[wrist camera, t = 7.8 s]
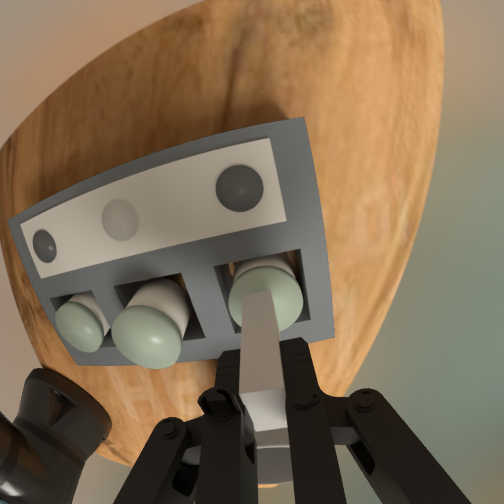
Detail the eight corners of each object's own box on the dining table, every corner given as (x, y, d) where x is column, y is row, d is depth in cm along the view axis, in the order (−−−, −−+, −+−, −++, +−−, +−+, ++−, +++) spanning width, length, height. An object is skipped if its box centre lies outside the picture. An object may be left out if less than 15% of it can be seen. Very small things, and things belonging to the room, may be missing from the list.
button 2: (93, 323, 21) (72, 352, 17) (73, 283, 20) (46, 309, 16) (128, 319, 21) (109, 351, 17) (108, 275, 19) (82, 304, 15)
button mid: (149, 330, 19) (130, 370, 15) (127, 281, 17) (100, 316, 13) (201, 323, 19) (190, 366, 15) (181, 270, 17) (162, 308, 13)
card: (43, 277, 16) (39, 279, 16) (22, 223, 14) (18, 225, 14) (286, 219, 15) (287, 221, 14) (268, 138, 13) (269, 137, 12)
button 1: (241, 302, 20) (238, 339, 16) (226, 250, 19) (219, 280, 15) (297, 291, 20) (306, 326, 16) (287, 237, 18) (297, 264, 14)
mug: (246, 319, 22) (243, 433, 12) (327, 351, 24) (356, 450, 14) (195, 394, 26) (179, 481, 16) (263, 415, 28) (266, 497, 18)
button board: (96, 336, 24) (77, 365, 19) (40, 205, 18) (7, 220, 14) (321, 303, 22) (334, 337, 18) (291, 123, 17) (304, 116, 12)
